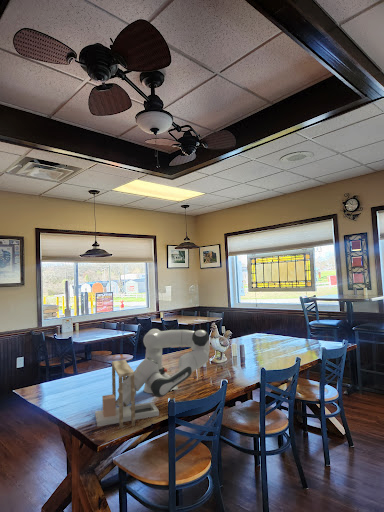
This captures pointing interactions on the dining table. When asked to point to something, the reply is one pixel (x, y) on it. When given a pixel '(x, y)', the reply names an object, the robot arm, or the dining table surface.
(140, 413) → the tray
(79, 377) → the dining table surface
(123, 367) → the arch
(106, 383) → the dining table surface
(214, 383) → the dining table surface
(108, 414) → the block
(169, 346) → the robot arm
